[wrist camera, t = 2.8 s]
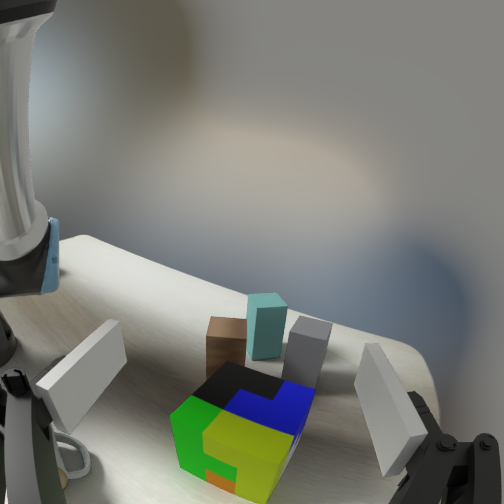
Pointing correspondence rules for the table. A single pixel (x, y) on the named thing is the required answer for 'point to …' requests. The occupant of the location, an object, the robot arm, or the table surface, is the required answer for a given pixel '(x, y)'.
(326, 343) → the grey block
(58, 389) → the robot arm
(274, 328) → the teal block
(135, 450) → the table surface
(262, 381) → the puzzle toy
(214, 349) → the walnut block
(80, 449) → the ceramic mug
